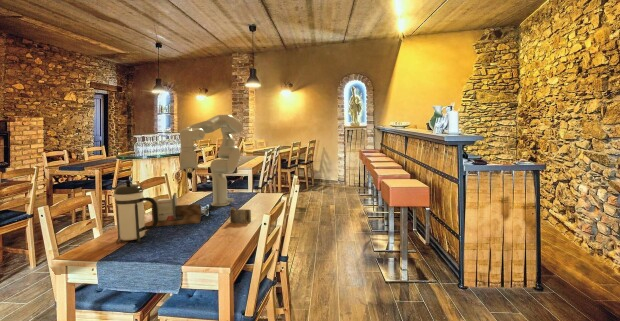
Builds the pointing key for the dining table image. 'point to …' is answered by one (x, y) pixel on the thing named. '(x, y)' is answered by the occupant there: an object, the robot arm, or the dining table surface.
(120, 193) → the coffee press
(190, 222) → the walnut shelf
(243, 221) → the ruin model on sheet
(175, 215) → the bookend
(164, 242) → the dining table surface
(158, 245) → the dining table surface
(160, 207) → the ink box
